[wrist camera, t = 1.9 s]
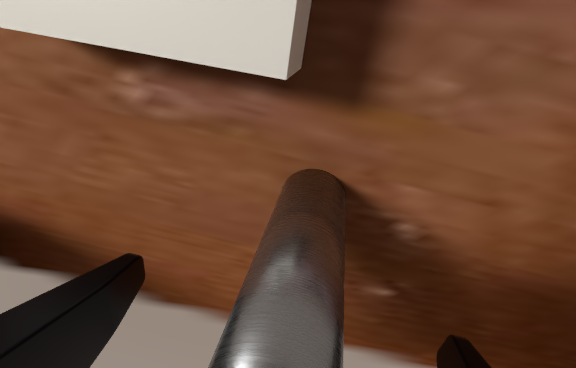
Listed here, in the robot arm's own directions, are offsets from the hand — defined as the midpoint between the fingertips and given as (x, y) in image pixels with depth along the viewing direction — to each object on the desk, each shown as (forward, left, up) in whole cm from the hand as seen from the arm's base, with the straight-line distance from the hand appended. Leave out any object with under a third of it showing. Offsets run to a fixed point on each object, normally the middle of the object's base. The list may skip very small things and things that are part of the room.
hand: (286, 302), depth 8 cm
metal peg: (0, 0, -6) cm, 6 cm away
